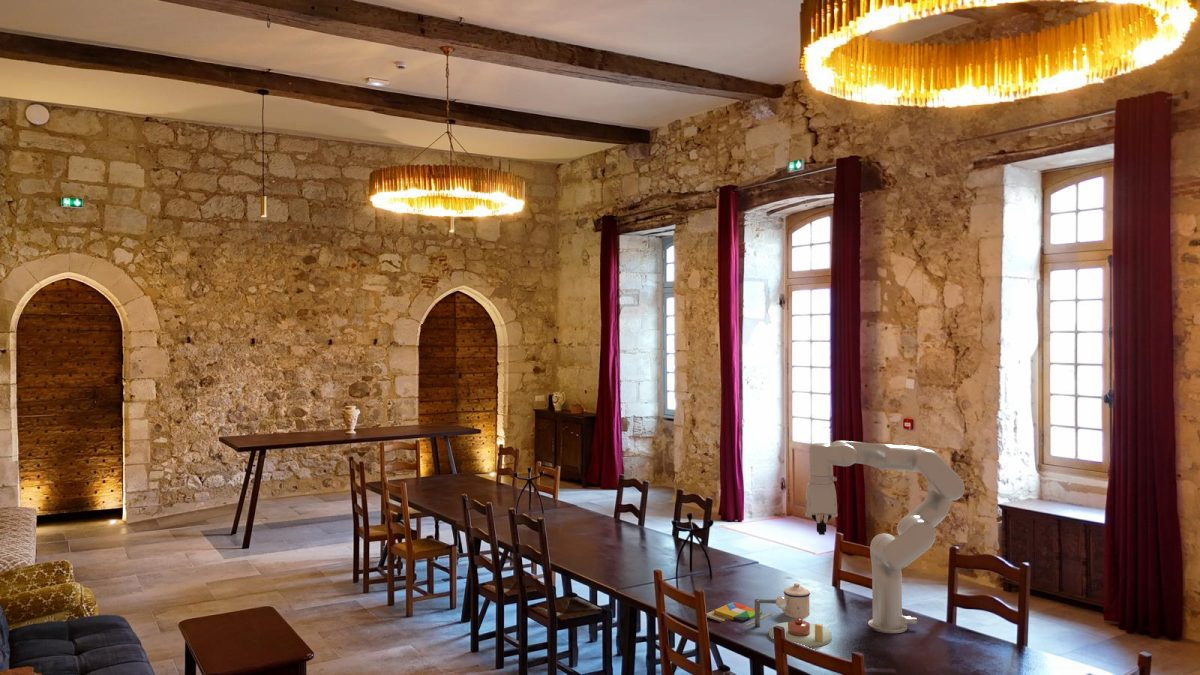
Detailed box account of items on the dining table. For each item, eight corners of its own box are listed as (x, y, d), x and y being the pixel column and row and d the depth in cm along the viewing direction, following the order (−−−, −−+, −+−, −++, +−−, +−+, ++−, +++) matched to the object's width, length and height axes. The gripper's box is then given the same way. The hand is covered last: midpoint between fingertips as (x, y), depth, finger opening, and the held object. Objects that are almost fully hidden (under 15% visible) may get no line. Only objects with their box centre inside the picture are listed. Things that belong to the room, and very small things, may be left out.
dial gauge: (785, 627, 294) (785, 594, 294) (787, 632, 289) (787, 598, 289) (749, 626, 295) (749, 593, 295) (750, 631, 290) (750, 598, 290)
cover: (798, 627, 287) (798, 613, 287) (814, 633, 281) (814, 619, 281) (783, 631, 283) (783, 617, 283) (799, 638, 277) (799, 623, 277)
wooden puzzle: (746, 631, 292) (746, 621, 292) (700, 619, 305) (700, 609, 305) (773, 618, 305) (773, 608, 305) (727, 607, 318) (727, 597, 318)
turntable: (803, 622, 296) (803, 603, 296) (845, 640, 278) (845, 621, 278) (756, 632, 287) (756, 613, 287) (796, 651, 269) (796, 631, 269)
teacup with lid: (797, 610, 311) (796, 578, 311) (815, 617, 304) (815, 584, 304) (772, 616, 305) (772, 584, 305) (790, 624, 297) (790, 590, 297)
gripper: (841, 478, 295) (841, 531, 296) (797, 478, 297) (797, 531, 297) (845, 482, 288) (846, 537, 288) (800, 482, 289) (800, 536, 289)
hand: (821, 534), depth 292 cm, fingers closed
